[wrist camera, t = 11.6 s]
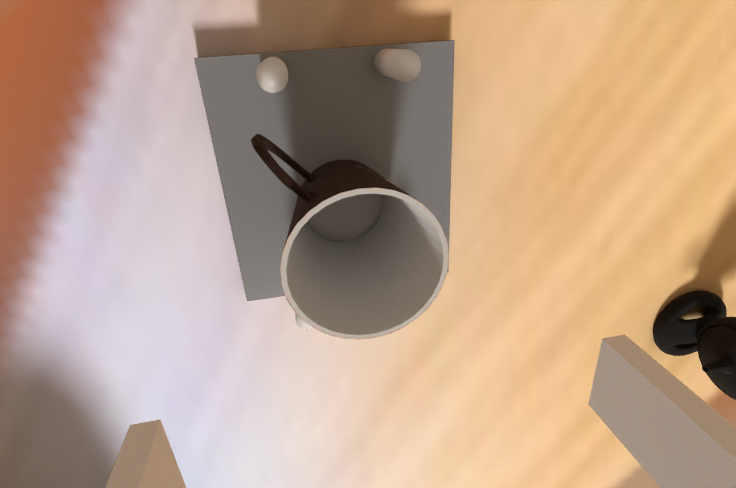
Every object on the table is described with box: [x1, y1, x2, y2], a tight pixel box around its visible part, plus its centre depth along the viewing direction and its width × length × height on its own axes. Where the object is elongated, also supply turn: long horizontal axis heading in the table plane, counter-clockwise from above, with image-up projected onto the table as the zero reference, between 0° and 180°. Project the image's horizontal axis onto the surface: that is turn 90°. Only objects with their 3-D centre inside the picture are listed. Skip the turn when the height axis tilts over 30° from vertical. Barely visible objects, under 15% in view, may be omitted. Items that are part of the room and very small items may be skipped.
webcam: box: [653, 291, 736, 400], centre depth 39 cm, size 8×8×10 cm
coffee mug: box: [251, 134, 449, 339], centre depth 25 cm, size 12×9×10 cm
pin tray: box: [194, 40, 454, 329], centre depth 28 cm, size 16×17×6 cm
